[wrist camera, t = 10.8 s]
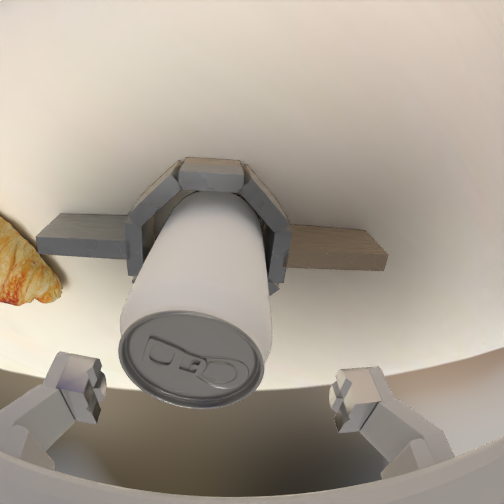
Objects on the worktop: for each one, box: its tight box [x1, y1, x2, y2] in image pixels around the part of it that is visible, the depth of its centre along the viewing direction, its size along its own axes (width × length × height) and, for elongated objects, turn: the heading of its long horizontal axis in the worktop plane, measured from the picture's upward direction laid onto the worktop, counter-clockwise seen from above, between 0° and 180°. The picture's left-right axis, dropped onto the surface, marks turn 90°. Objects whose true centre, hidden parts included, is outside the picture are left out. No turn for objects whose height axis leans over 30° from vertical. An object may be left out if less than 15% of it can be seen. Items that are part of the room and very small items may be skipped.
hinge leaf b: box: [36, 164, 292, 296], centre depth 20 cm, size 16×10×4 cm, turn 84°
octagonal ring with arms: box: [136, 157, 388, 271], centre depth 21 cm, size 16×10×4 cm, turn 84°
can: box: [118, 191, 272, 409], centre depth 17 cm, size 6×6×12 cm
